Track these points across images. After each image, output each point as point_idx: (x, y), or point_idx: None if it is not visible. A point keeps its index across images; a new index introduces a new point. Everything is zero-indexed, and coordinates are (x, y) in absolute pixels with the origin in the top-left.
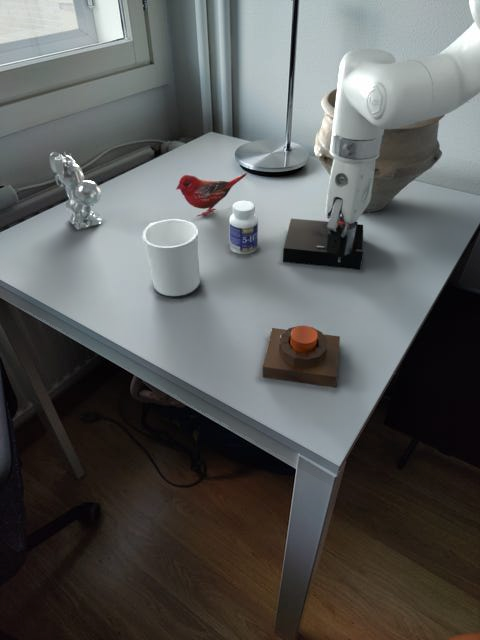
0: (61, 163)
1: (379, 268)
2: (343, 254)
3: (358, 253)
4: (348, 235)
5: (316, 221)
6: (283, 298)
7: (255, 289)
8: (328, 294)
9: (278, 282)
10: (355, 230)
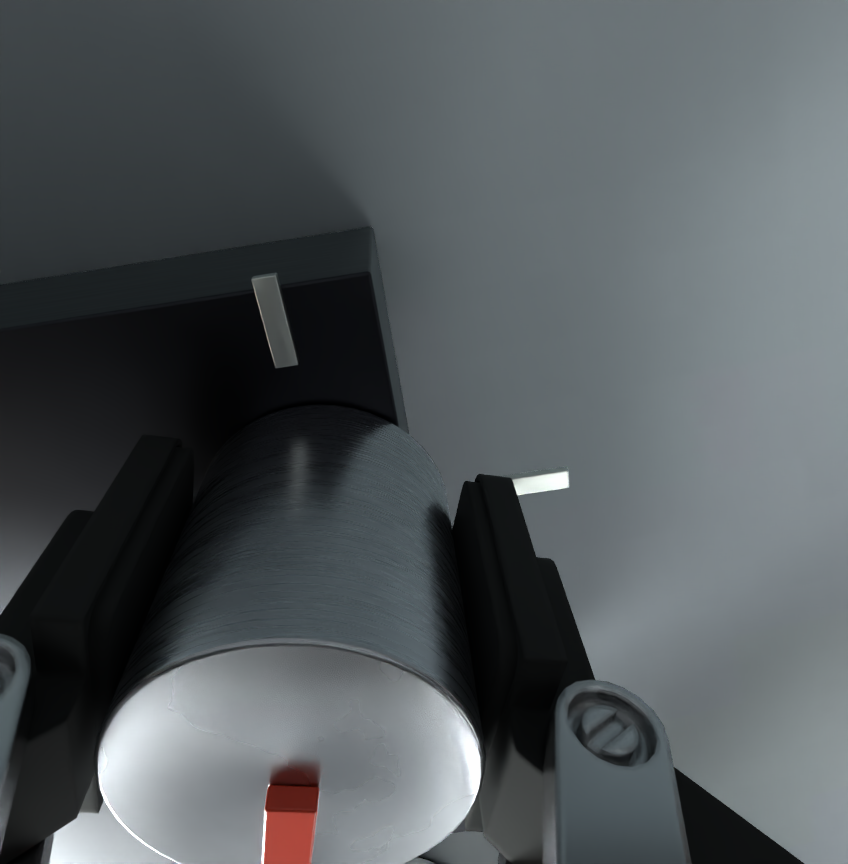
0: None
1: (263, 20)
2: (511, 486)
3: (334, 327)
4: (446, 623)
5: None
6: (841, 631)
7: (764, 757)
8: (782, 405)
9: (681, 690)
10: (126, 529)
